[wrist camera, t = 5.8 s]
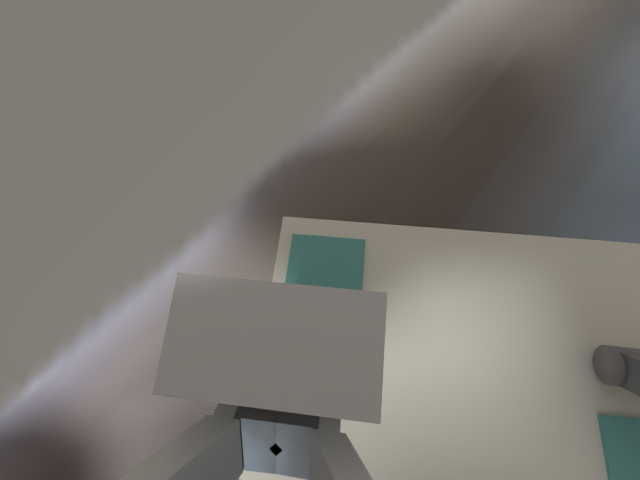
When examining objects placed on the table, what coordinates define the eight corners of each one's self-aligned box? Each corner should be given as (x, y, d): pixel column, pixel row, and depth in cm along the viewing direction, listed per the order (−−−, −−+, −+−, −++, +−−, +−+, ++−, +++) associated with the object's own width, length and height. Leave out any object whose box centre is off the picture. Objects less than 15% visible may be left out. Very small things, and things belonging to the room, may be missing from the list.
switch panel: (684, 528, 17) (757, 560, 14) (254, 465, 19) (237, 481, 16) (623, 262, 22) (667, 243, 19) (289, 234, 24) (282, 215, 21)
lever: (357, 361, 18) (380, 424, 6) (274, 351, 18) (152, 394, 7) (360, 314, 18) (387, 293, 7) (280, 306, 19) (178, 272, 7)
